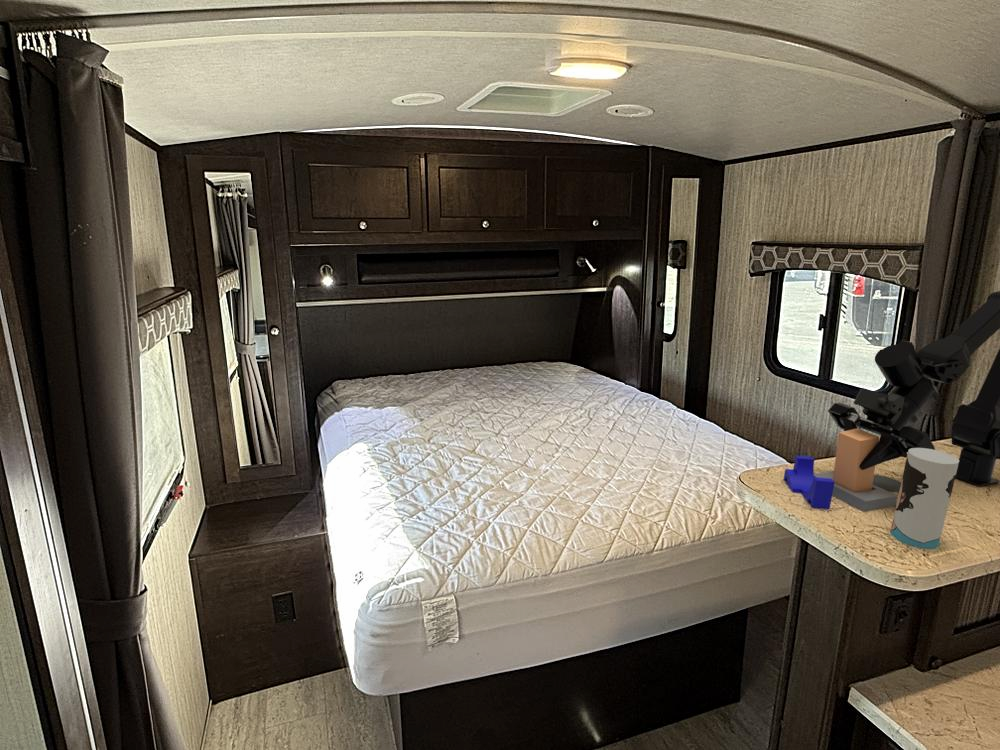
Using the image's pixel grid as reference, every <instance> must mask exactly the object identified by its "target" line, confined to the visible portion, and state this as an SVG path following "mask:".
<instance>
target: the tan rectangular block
mask: <svg viewBox="0 0 1000 750" xmlns="http://www.w3.org/2000/svg"><path fill="white" fill-rule="evenodd" d="M837 435H838V436H837V445H836V451H835V452H836V453H835V461H834V467H833V468H834V469H833V471H834V475H833V481H834V482H835V483H836V484H838V485H840V486H842V487H844V488H846V489H848V490H850V491H852V492H854V493H857V492H863V491H869V490H872V485H873V478H874V475H875V469H876V465H875V466H872V467H870V468H867V469H865V470H862V469H860V467H859V466H860V464H861V463H862V461H863V460H864V459H865V457H866V456H867V455H868V454H869V453H870V452H871V451H872V450H873V448H874V447H875V446H876V445H877V444H878V442H879V440H880V435H879V436H878V435H877V434H876V435H875V434H874V433H872V432H871V433H870V432H867V431H865V430H860V429H852V430H848V431H844V430H843V431H839V432H838V434H837Z"/></svg>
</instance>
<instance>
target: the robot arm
mask: <svg viewBox="0 0 1000 750" xmlns="http://www.w3.org/2000/svg"><path fill="white" fill-rule="evenodd" d="M999 329H1000V290H997V291H993V292H991V293H990V294H989V296H988V297H987V299H986V301H985V302H984V303H983V304H982V305H980V307H978V309H976V310H975V311H974V312H973V313H972V314H971V315H970V316H969V317H968V318H967V319H965V321H964V322H962V323H961V324H960V325H959V326H957V328H955V330H953V331H952V332H951V333H950V334H949V335H947V336H946V337H942V338H941V339H937V340H933V341H931V342H929V343H928V344H926V345H925V346H923V347H922V348H921V349H919V350H918V351H916V348H915V345H914V343H913V342H912V341H907V340H901V339H900V341H899V343H897V344H890V345H888V346H886V347H884V348H882V349H879V350H878V351H877V353H876V354H875V356H874V362H875V365H877V367H878V368H879V370H880V372H881V374H882V375H883V377H884V379H885V381H886V382H887V383H888V384H889V385H890V386H892V387H893V388H892V389H891V390H890V391H889V392H888V393H884V392H882V393H880V392H877V391H874V390H870V389H867V388H864V387H861V388H860V389H859V391H858V393H857V395H856V397H855V398H854V400H853V404H854V405H857V406H859V407H861V408H863V409H862V410H861V412H862V413H863V414H864V416H867V417H866V418H865V417H863V416H862V417H861V416H860V414H859V413H858V411H857V410H856V408H855V407H854V406H850V405H849V404H848V405H847V404H845V403H843V402H842V403H841V402H834V403H833V404H832V405H831V406H830V407H829V409H828V410H827V413H829V415H830V417H831V418H832V420H833V421H834V422H835V424H836V425H837V427H838V428H840V430H841V429H842V430H843V431H848V430H852V429H860V430H863V431H865V430H866V431H869V432H871V433H872V434H876V435H879V442H878V444H877V445H876V446H875V447H874V448H873V450H872V451H871V452H870V453H869V454H868V455H867V456H866V457H865V459H864V460H863V461H862V463H861V464H860V466H859V467H860V469H862V470H865V469H867V468H870V467H872V466H875V467H876V466H877V465H880V464H882V463H886V462H888V461H892V460H895V459H899V458H906V459H907V454H908V451H909V449H911V448H927V449H933V450H936V448H935V445H934V443H933V441H932V440H931V438H930V437H929V435H928V433H927V432H926V431H923V430H920V429H917V428H915V427H912V426H909V425H908V424H909V423H912V424H915V423H916V422H917V421H918V418H917V416H916V415H917V414H918V413H919V411H920V410H921V409H922V408H923V407H924V406H925V404H926V403H927V402H928V401H933V402H939V400H940V394H939V386H936V385H934V384H933V382H932V381H935V382H939V383H942V384H954V383H955V382H957V381H958V380H959V379H960V378H961V377H962V375H963V374H964V373H965V372H966V371H967V370H968V369H969V367H970V366H971V357H972V355H973V354H974V352H976V351H977V350H978V349H979V348H980V347H981V346H982V345H983V344H985V342H986V341H987V340H989V339H990V338H991V337H992V336H993V335H994V334H995V333H997V332H998V330H999ZM951 422H952V423H951V425H950V435H951V445H952V446H956V447H959V448H961V449H960V454H959V457H958V460H959V464H958V468H957V472H956V476H955V479H959V480H961V481H965V482H967V483H969V484H971V485H974V486H976V487H983V486H988V485H989V486H990V485H996V484H999V483H1000V480H999V479H996V478H995V477H992V476H993V473H994V471H995V470H994V469H995V466H996V463H997V460H1000V347H999V348H998V351H997V352H996V355H995V357H994V359H993V361H992V364H991V366H990V368H989V369H988V373H987V374H986V377H985V378H984V381H983V383H982V386H981V388H980V390H979V391H978V394H977V397H976V399H974V400H973V401H970V403H968V404H965V403H962V404H960V405H959V406H958V409H957V411H956V414H955V416H954V417H953V419H952V420H951ZM907 425H908V426H907Z"/></svg>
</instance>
